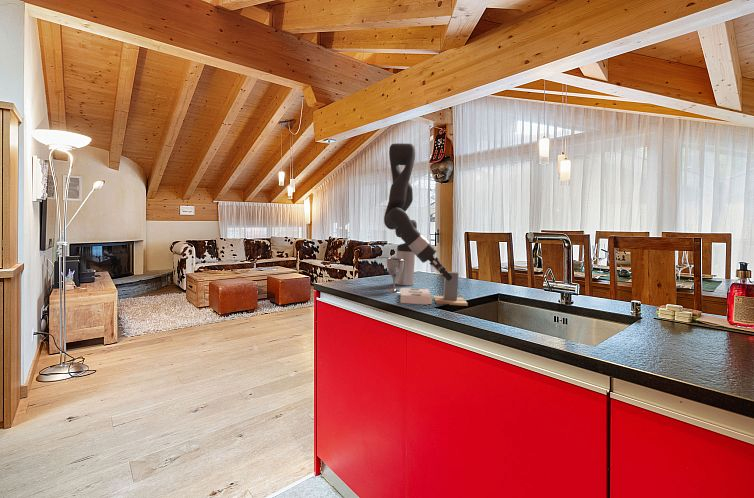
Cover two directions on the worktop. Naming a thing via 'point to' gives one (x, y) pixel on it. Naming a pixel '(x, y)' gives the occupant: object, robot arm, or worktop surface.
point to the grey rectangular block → (451, 287)
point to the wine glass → (394, 270)
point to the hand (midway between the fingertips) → (449, 277)
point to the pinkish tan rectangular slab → (416, 296)
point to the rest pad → (450, 301)
